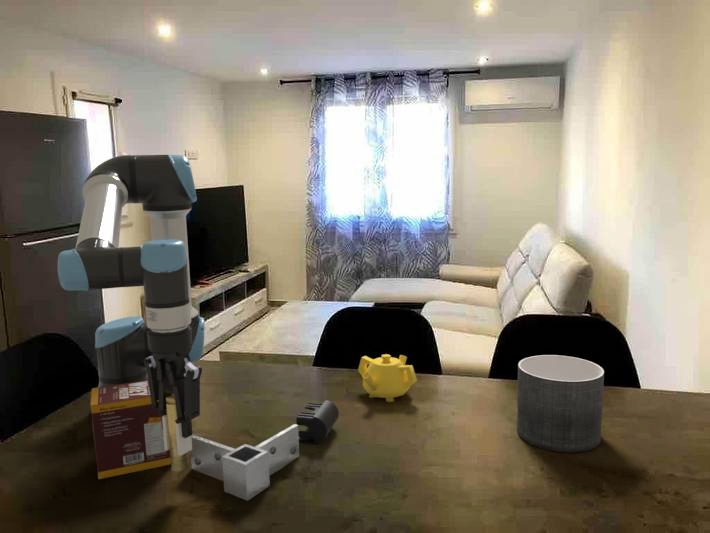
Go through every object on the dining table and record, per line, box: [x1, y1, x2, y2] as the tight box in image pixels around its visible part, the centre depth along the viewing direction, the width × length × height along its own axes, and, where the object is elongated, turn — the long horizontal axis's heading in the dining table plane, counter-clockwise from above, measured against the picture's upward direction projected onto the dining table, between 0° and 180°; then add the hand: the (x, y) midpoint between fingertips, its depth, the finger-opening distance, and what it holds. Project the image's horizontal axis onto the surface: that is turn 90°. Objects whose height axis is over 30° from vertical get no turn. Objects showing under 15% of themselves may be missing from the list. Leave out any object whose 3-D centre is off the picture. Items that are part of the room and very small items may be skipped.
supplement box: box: [89, 380, 171, 480], centre depth 118 cm, size 10×15×16 cm
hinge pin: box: [166, 393, 189, 472], centre depth 104 cm, size 3×3×14 cm
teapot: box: [357, 353, 418, 403], centre depth 151 cm, size 20×18×11 cm
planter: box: [516, 354, 605, 454], centre depth 125 cm, size 18×18×16 cm
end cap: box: [295, 399, 340, 446], centre depth 128 cm, size 10×7×7 cm
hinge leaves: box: [190, 423, 300, 501], centre depth 114 cm, size 18×18×7 cm
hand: (178, 449), depth 104 cm, fingers closed on hinge pin, 3 cm apart
